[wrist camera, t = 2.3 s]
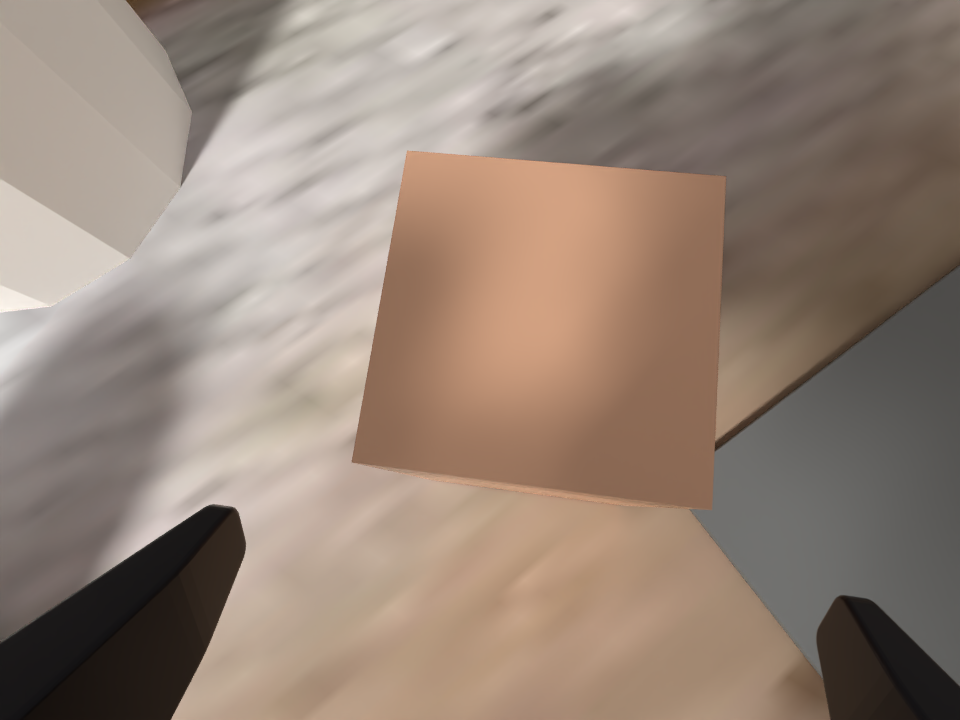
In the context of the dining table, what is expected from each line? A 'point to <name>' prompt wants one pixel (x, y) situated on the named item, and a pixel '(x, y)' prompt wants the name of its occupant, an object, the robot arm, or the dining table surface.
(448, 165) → the peach tall cube
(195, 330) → the dining table surface
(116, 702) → the robot arm
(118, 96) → the container
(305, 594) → the dining table surface
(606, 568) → the dining table surface
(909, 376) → the charcoal mat
